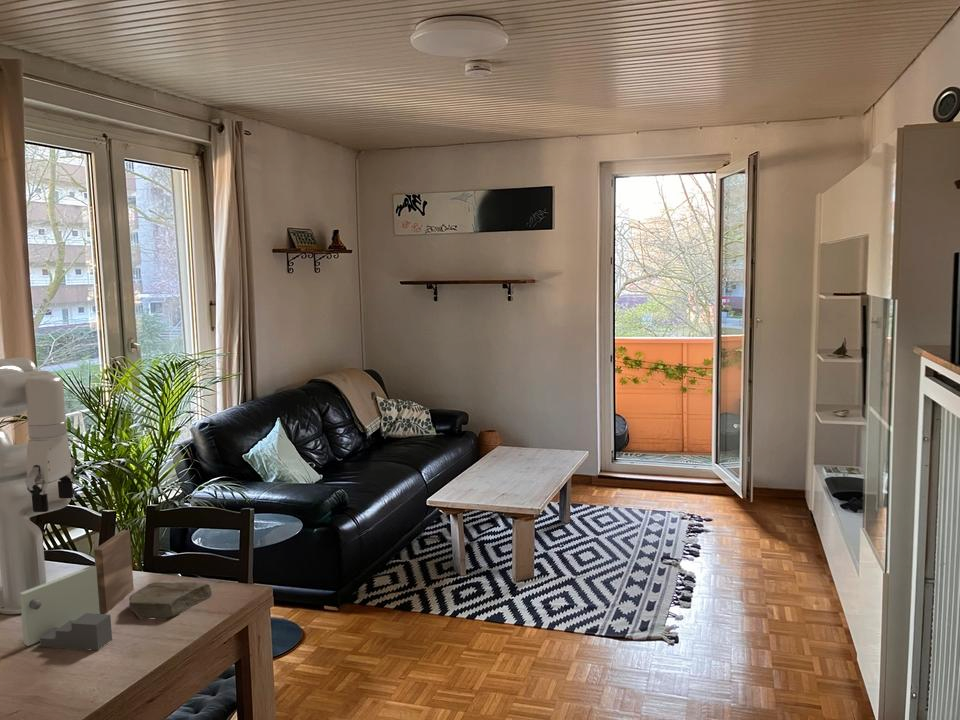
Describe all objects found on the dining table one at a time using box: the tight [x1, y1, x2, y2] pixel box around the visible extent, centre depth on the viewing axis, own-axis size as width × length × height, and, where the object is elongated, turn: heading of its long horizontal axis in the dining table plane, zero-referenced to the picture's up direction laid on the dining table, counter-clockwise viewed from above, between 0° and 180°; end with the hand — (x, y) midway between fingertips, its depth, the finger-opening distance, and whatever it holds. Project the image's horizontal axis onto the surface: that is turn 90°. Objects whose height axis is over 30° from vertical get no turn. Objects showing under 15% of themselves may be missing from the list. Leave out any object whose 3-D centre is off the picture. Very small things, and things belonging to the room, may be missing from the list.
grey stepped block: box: [39, 613, 113, 651], centre depth 173 cm, size 14×5×6 cm, turn 82°
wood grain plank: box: [93, 529, 135, 614], centre depth 194 cm, size 2×14×16 cm, turn 178°
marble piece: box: [128, 581, 213, 620], centre depth 192 cm, size 17×15×4 cm
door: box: [20, 565, 101, 647], centre depth 178 cm, size 3×18×12 cm, turn 151°
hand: (53, 504), depth 175 cm, fingers open, 9 cm apart
